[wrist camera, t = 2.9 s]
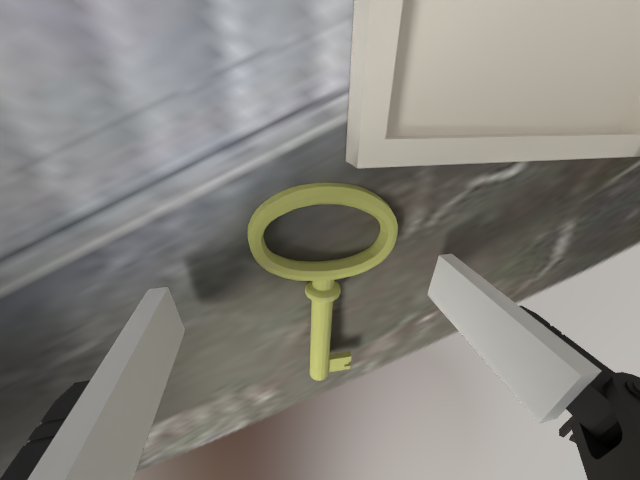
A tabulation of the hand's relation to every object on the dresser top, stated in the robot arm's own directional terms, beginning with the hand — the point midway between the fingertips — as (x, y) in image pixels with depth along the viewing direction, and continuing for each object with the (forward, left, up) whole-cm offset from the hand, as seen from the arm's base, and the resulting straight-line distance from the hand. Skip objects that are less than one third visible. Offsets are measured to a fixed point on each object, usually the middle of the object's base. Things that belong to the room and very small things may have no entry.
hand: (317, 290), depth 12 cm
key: (0, -1, -2) cm, 2 cm away
